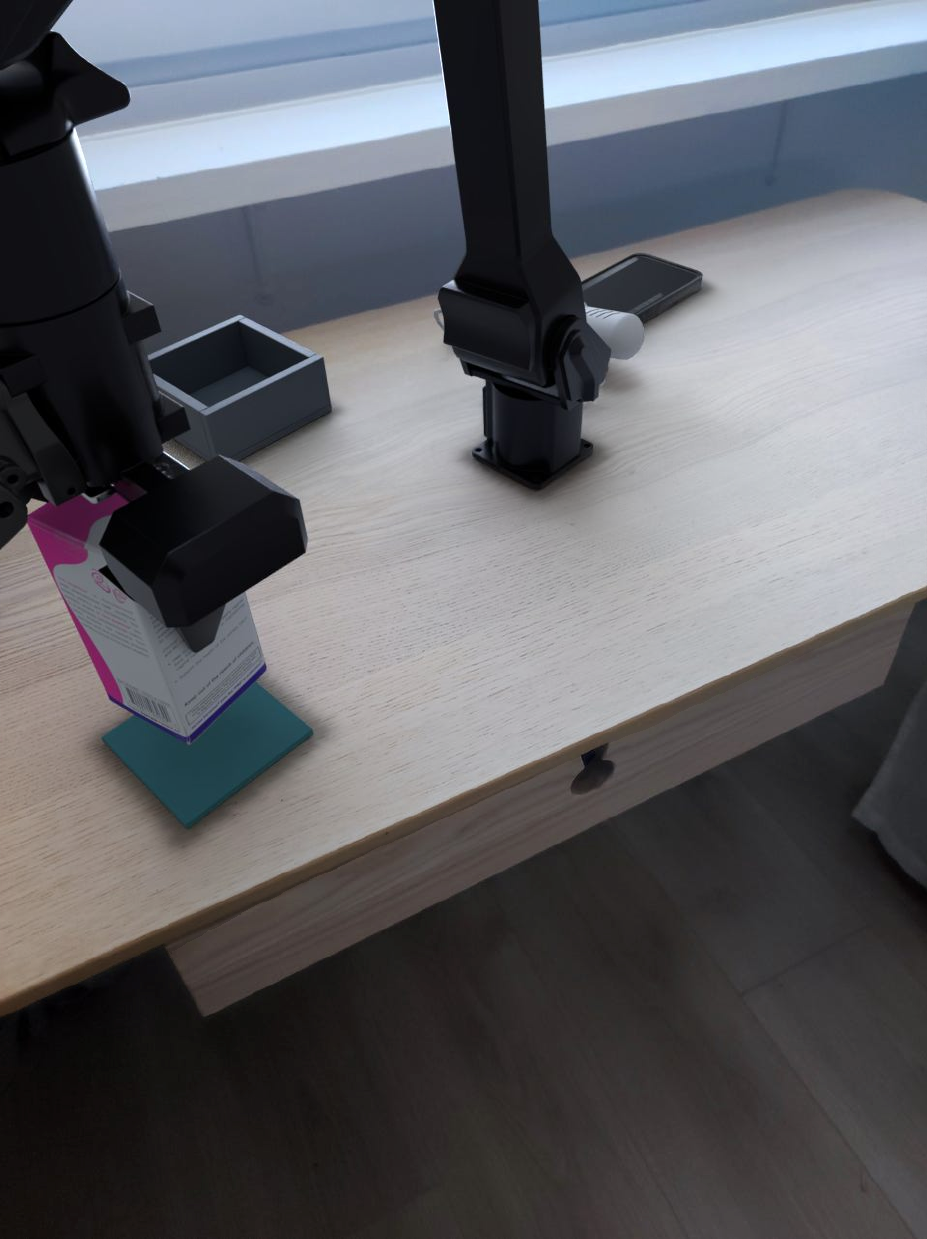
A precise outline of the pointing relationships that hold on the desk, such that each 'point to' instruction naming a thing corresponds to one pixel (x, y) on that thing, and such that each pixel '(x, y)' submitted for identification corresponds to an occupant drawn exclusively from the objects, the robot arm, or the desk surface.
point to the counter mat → (209, 753)
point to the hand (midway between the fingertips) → (162, 611)
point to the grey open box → (241, 387)
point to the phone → (640, 285)
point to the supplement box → (143, 630)
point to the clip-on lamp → (609, 331)
